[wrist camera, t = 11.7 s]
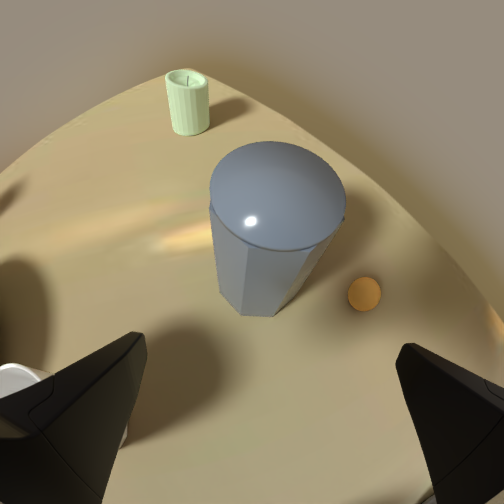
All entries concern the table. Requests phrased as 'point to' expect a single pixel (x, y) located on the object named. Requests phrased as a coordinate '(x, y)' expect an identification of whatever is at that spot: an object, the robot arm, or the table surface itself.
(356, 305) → the amber ball
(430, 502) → the pocket watch
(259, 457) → the table surface
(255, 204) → the grey faceted canister
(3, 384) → the white cup
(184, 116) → the candle
